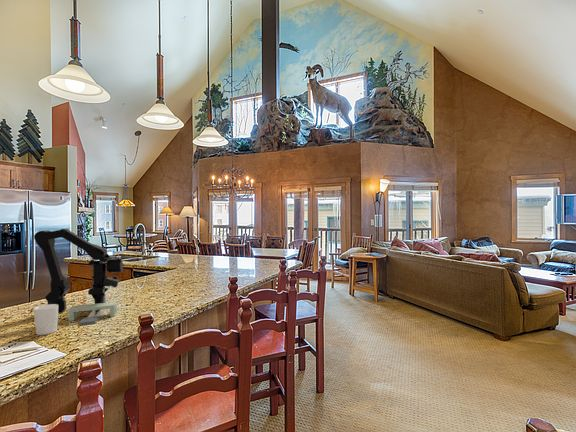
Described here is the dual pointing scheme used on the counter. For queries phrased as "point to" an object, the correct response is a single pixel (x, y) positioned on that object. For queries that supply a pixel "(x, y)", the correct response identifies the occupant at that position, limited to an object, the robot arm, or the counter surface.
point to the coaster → (89, 321)
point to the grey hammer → (96, 312)
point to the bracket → (74, 309)
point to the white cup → (46, 319)
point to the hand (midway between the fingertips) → (100, 304)
